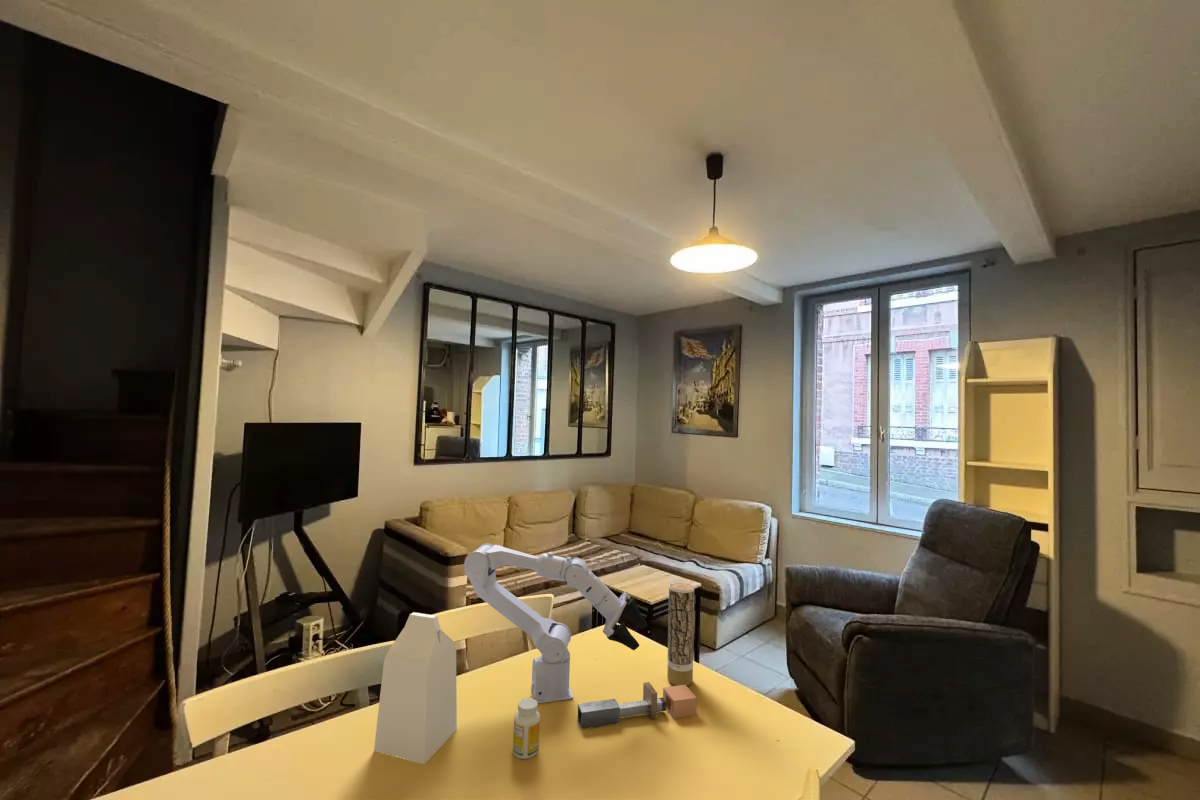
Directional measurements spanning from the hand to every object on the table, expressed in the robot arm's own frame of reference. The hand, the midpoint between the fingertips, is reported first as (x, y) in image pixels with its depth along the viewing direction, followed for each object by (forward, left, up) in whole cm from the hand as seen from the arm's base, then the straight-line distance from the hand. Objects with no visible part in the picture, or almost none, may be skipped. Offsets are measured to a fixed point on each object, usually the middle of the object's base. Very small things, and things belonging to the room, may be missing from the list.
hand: (640, 637), depth 120 cm
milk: (-52, -3, -15) cm, 54 cm away
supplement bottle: (-30, -12, -15) cm, 36 cm away
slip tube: (-6, -6, -15) cm, 17 cm away
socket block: (+8, -6, -15) cm, 18 cm away
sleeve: (-13, -6, -15) cm, 21 cm away
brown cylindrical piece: (+14, +6, -15) cm, 22 cm away
